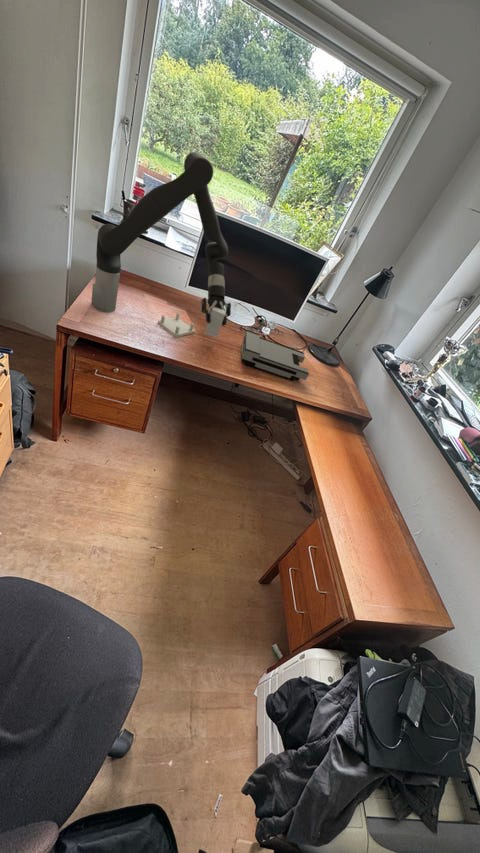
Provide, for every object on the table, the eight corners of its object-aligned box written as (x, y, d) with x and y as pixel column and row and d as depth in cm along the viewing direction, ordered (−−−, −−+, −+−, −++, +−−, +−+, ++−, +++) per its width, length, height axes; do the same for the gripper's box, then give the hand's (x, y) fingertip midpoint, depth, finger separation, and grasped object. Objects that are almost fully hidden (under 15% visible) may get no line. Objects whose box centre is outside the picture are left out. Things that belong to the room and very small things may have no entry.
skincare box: (218, 334, 161) (226, 311, 153) (216, 338, 158) (225, 314, 150) (205, 329, 160) (213, 306, 152) (204, 333, 157) (212, 309, 149)
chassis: (175, 337, 154) (178, 329, 151) (157, 323, 157) (159, 314, 155) (194, 332, 163) (196, 325, 160) (176, 319, 166) (178, 311, 164)
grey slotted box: (301, 386, 164) (310, 372, 158) (239, 365, 157) (245, 350, 152) (297, 363, 179) (305, 350, 174) (240, 343, 173) (246, 329, 168)
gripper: (205, 281, 147) (205, 319, 147) (234, 287, 154) (234, 324, 155) (198, 287, 153) (198, 323, 154) (226, 293, 161) (226, 328, 161)
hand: (216, 324), depth 154 cm, fingers closed on skincare box, 7 cm apart
